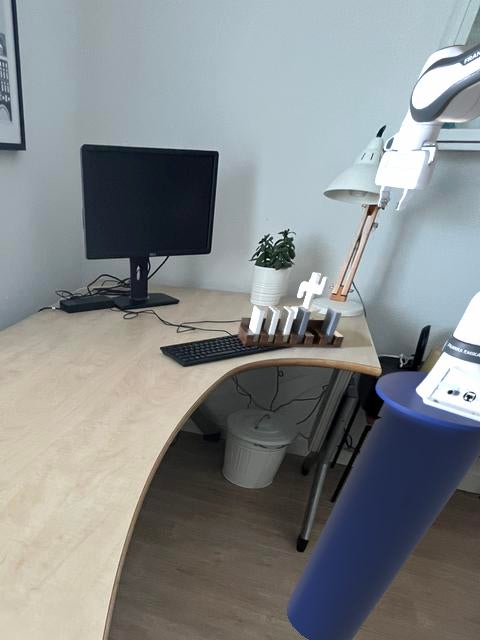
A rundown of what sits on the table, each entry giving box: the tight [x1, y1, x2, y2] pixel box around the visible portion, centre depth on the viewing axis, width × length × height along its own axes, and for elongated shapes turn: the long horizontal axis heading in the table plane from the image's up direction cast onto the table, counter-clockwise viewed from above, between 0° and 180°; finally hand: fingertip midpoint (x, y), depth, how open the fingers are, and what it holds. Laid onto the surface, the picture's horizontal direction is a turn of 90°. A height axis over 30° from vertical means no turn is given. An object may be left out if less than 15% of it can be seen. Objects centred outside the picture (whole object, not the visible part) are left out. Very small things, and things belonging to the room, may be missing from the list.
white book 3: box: [278, 305, 296, 342], centre depth 134 cm, size 6×2×9 cm, turn 0°
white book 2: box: [263, 305, 281, 342], centre depth 134 cm, size 6×2×9 cm, turn 0°
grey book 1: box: [292, 305, 311, 343], centre depth 134 cm, size 6×2×9 cm, turn 0°
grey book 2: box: [321, 306, 342, 343], centre depth 135 cm, size 6×2×9 cm, turn 0°
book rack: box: [237, 317, 345, 349], centre depth 136 cm, size 9×30×6 cm, turn 90°
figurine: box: [290, 271, 330, 319], centre depth 153 cm, size 7×9×15 cm
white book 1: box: [249, 305, 266, 342], centre depth 134 cm, size 6×2×9 cm, turn 0°
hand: (390, 208), depth 117 cm, fingers open, 8 cm apart
